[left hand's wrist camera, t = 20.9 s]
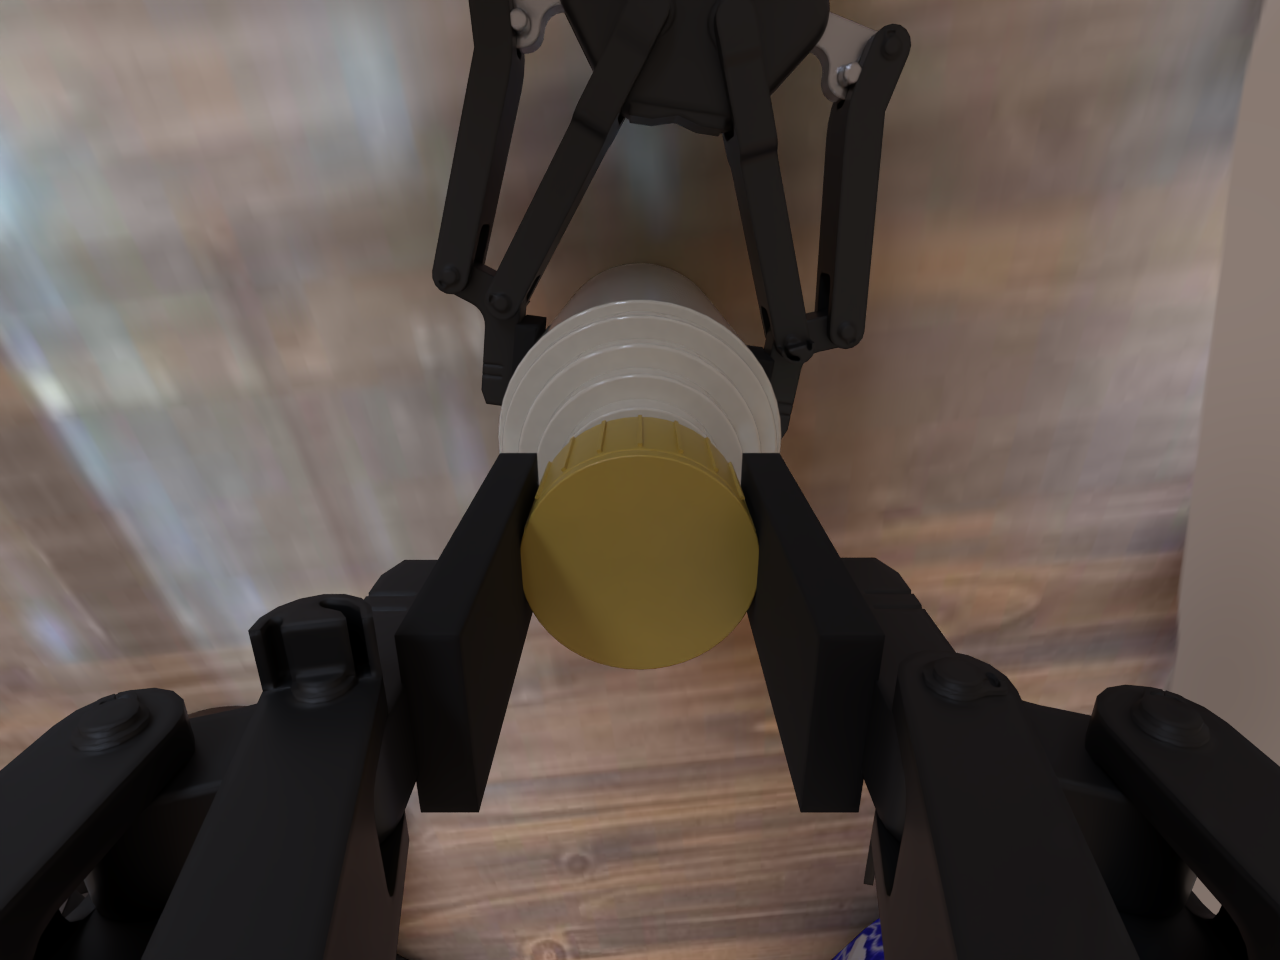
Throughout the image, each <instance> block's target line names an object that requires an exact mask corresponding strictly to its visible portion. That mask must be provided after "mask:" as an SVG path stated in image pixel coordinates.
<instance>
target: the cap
mask: <svg viewBox="0 0 1280 960" xmlns="http://www.w3.org/2000/svg"><path fill="white" fill-rule="evenodd" d="M520 550H521V565H522V580H523V590H524V594H525V597H526V599H527V601H528V603H529V605H530V608H531V610H532V611H533V613H534V614H535V616H536V617H537V619H538V620H539V622H540V623H541V624H542V625H543V627H544V628H545V629H546V630H547V631H548V632H549V633H550V634H551V635H552V636H553V637H554V638H555V639H556V640H557V641H559V642H560V643H561V644H563V645H564V646H565V647H567V648H568V649H570V650H571V651H573V652H575V653H577V654H579V655H580V656H582V657H584V658H587V659H589V660H592V661H594V662H597V663H600V664H604V665H608V666H611V667H618V668H624V669H656V668H662V667H668V666H672V665H676V664H679V663H682V662H685V661H688V660H690V659H693V658H695V657H697V656H699V655H701V654H703V653H705V652H706V651H708V650H710V649H711V648H713V647H714V646H716V645H717V644H718V643H720V642H721V641H722V640H723V639H724V638H726V637H727V636H728V635H729V634H730V633H731V632H732V631H733V630H734V629H735V627H736V626H737V625H738V624H739V622H740V621H741V620H742V618H743V617H744V615H745V614H746V612H747V610H748V609H749V607H750V605H751V602H752V600H753V598H754V596H755V593H756V587H757V573H758V559H759V542H758V537H757V534H756V529H755V526H754V524H753V521H752V518H751V515H750V513H749V510H748V507H747V505H746V502H745V497H744V494H743V491H742V489H741V486H740V483H739V480H738V478H737V475H736V472H735V470H734V467H733V464H732V463H731V462H729V463H728V462H727V460H726V459H725V457H724V456H723V455H722V454H721V453H720V452H719V450H718V449H717V448H716V447H715V446H714V445H713V444H712V443H711V441H710V439H709V438H708V437H706V438H704V437H703V436H701V435H700V434H698V433H697V432H695V431H693V430H692V429H689V428H687V427H685V426H683V425H681V424H679V422H678V421H676V420H674V422H672V421H669V420H665V419H659V418H654V417H642V415H638V417H627V418H620V419H615V420H610V421H608V422H606V420H604V421H602V423H601V424H599V425H596V426H594V427H592V428H590V429H588V430H586V431H584V432H583V433H581V434H580V435H578V436H577V437H574V436H573V437H572V438H570V441H569V443H568V444H567V445H566V446H565V447H564V448H563V449H562V450H561V451H560V452H559V453H558V454H557V456H556V457H555V458H554V460H553V461H552V462H550V461H549V462H548V464H547V466H546V469H545V471H544V474H543V477H542V480H541V482H540V485H539V488H538V490H537V493H536V496H535V500H534V503H533V505H532V508H531V511H530V513H529V516H528V519H527V522H526V524H525V527H524V533H523V536H522V540H521V545H520Z"/></svg>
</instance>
